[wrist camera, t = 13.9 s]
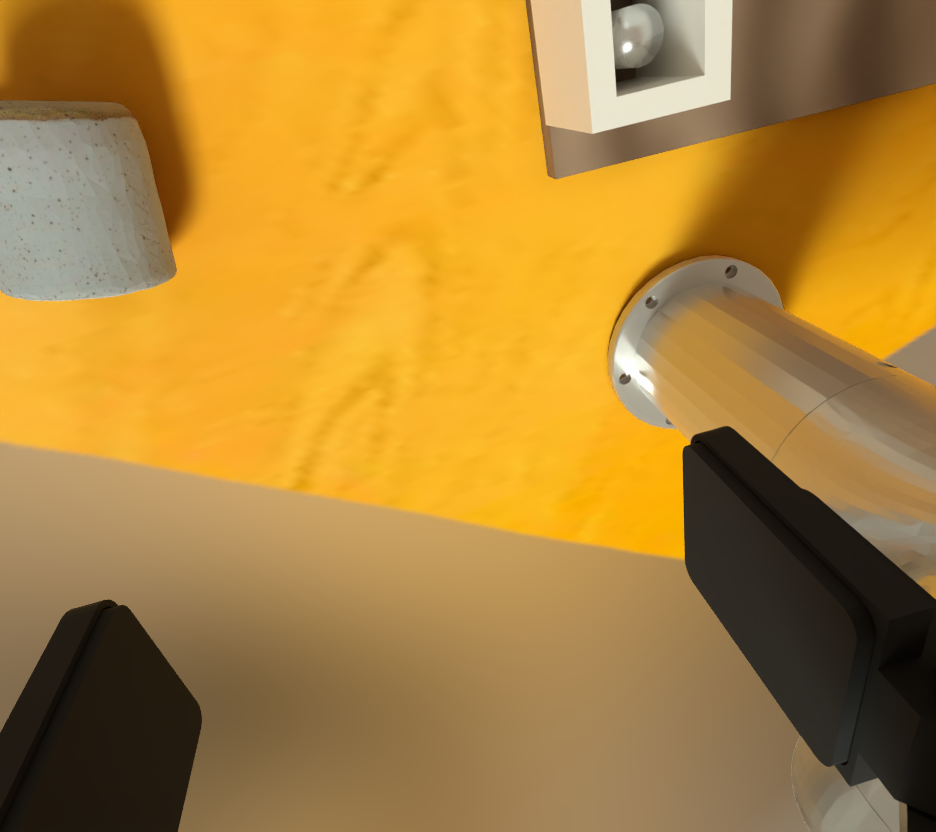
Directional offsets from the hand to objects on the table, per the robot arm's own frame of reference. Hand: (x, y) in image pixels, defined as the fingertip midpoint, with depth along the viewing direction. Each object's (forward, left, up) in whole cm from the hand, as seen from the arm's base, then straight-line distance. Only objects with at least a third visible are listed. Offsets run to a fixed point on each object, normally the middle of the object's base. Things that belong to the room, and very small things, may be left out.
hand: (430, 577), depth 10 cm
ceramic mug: (+13, +8, -29) cm, 32 cm away
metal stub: (-3, -15, -27) cm, 31 cm away
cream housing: (-3, -15, -27) cm, 31 cm away
